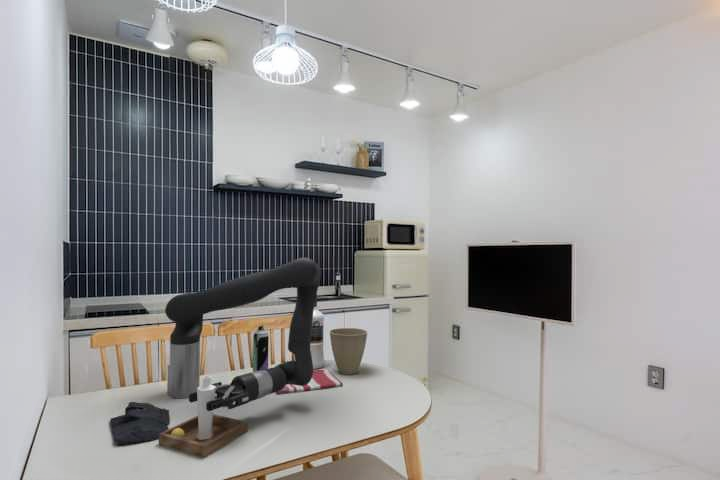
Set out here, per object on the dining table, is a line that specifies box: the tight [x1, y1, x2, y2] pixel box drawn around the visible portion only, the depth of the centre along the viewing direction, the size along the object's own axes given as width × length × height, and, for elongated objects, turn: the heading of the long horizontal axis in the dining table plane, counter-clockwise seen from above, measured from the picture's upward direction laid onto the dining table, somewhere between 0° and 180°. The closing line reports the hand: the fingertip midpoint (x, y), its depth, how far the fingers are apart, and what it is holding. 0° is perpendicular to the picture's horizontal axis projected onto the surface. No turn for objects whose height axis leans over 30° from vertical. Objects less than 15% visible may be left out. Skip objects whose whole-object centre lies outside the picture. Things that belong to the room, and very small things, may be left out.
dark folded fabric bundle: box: [109, 401, 171, 446], centre depth 113 cm, size 15×22×5 cm
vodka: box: [310, 293, 326, 370], centre depth 172 cm, size 9×9×30 cm
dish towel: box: [274, 369, 344, 395], centre depth 152 cm, size 17×23×3 cm
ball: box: [171, 428, 184, 438], centre depth 105 cm, size 3×3×3 cm
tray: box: [158, 413, 249, 459], centre depth 107 cm, size 15×15×3 cm
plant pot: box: [329, 327, 368, 375], centre depth 166 cm, size 15×15×16 cm
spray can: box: [252, 325, 270, 372], centre depth 154 cm, size 6×6×20 cm
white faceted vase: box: [196, 375, 216, 440], centre depth 108 cm, size 5×4×15 cm
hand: (198, 402), depth 105 cm, fingers open, 8 cm apart
